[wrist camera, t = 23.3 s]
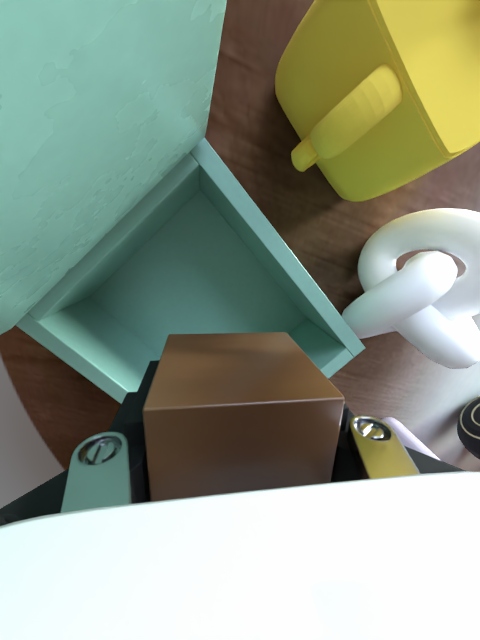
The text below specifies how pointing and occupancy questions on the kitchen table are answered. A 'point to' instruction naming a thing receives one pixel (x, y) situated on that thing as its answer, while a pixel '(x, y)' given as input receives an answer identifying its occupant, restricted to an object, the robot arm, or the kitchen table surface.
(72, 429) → the kitchen table surface
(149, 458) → the block
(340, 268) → the kitchen table surface
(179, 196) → the open box
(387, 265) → the white knot
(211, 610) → the robot arm
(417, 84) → the teapot
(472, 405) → the headphones
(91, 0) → the box lid
